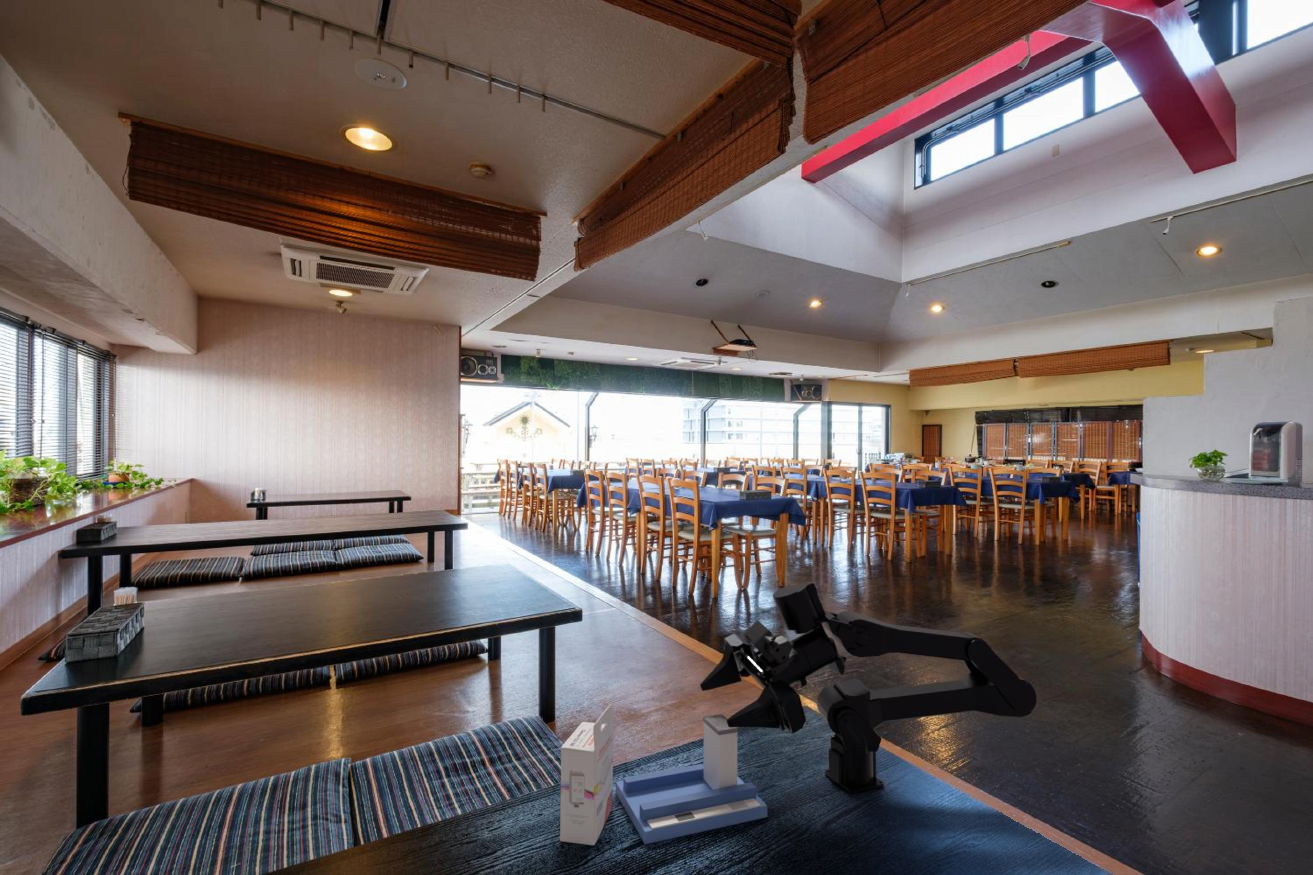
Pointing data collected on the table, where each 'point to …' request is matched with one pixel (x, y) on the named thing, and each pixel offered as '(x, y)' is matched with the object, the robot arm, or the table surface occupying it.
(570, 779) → the ink cartridge box
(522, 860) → the table surface
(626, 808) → the blue railed tray
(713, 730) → the switch tab
